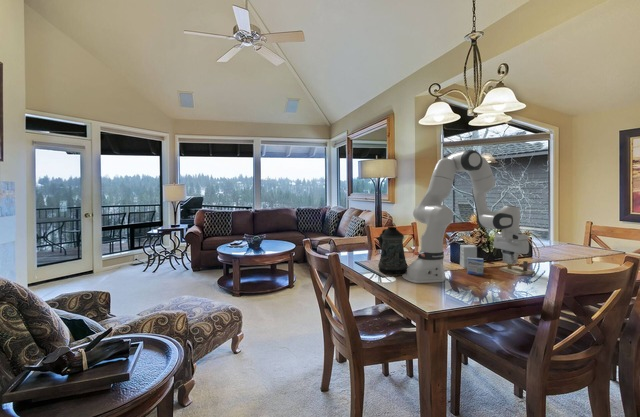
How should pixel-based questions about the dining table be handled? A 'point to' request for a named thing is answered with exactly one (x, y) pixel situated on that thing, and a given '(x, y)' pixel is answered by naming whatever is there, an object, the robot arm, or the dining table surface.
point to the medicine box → (475, 266)
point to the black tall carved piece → (392, 252)
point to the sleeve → (508, 257)
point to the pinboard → (517, 269)
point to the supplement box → (467, 254)
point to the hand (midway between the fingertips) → (509, 258)
